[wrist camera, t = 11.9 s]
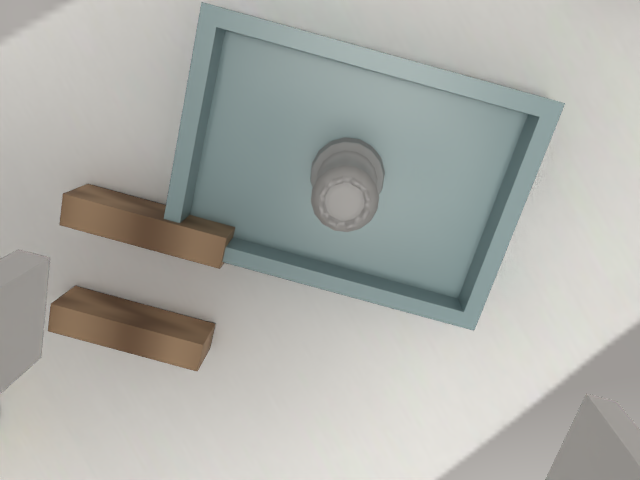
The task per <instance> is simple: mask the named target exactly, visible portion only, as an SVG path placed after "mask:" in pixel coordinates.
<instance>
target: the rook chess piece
mask: <svg viewBox="0 0 640 480" xmlns="http://www.w3.org/2000/svg"><path fill="white" fill-rule="evenodd" d="M384 175H385V171H384V167H383V163H382V159H381V157H380V156H379V154H378V153H377V152H376V150H375V149H374V148H373V147H372V146H371V145H369V144H367V143H366V142H364V141H362V140H360V139H354V138H346V137H344V138H341V139H337V140H334V141H330V142H329V143H328V144H327V145H325V146H324V147H323V148H322V149H320V150H319V151H318V153H317V155H316V157H315V159H314V161H313V162H312V168H311V177H310V181H311V184H312V196H311V204H312V207H313V211H314V214H315V215H316V216H317V218H318V219H319V220H320V221H321V223H322V224H323V225H325V226H327V227H329V228H331V229H332V230H334V231H342V232H350V231H354V230H358V229H360V228H362V227H363V226H365V225H366V224H367V223H369V222H370V221H371V220H372V218H373V216H374V215H375V213H376V211H377V209H378V202H379V194H380V192H381V191H382V188H383V182H384Z"/></svg>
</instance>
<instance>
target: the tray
mask: <svg viewBox="0 0 640 480" xmlns="http://www.w3.org/2000/svg"><path fill="white" fill-rule="evenodd" d="M564 105H565V103H562V102H558V101H555V100H551V99H548V98H544V97H540V96H537V95H533V94H530V93H526V92H523V91H519V90H515V89H512V88H508V87H505V86H501V85H497V84H494V83H490V82H487V81H483V80H479V79H476V78H472V77H469V76H465V75H462V74H458V73H454V72H451V71H447V70H444V69H440V68H436V67H433V66H429V65H426V64H422V63H418V62H415V61H411V60H408V59H404V58H401V57H397V56H393V55H390V54H386V53H383V52H379V51H375V50H372V49H368V48H365V47H361V46H357V45H354V44H350V43H347V42H343V41H340V40H336V39H332V38H329V37H325V36H322V35H318V34H314V33H311V32H307V31H304V30H300V29H296V28H293V27H289V26H286V25H282V24H278V23H275V22H271V21H268V20H264V19H261V18H257V17H253V16H250V15H246V14H243V13H239V12H235V11H232V10H228V9H225V8H221V7H217V6H214V5H210V4H207V3H203V2H202V3H201V9H200V14H199V20H198V26H197V31H196V37H195V43H194V48H193V54H192V60H191V66H190V71H189V77H188V83H187V88H186V94H185V100H184V106H183V111H182V117H181V123H180V128H179V134H178V140H177V145H176V151H175V157H174V163H173V168H172V174H171V180H170V185H169V191H168V197H167V202H166V208H165V214H164V219H166V220H170V221H173V222H177V223H181V222H182V221H183V220H184V219H186V218H187V217H188V216H189V215H192V216H196V217H200V218H203V219H207V220H211V221H214V222H218V223H222V224H225V225H229V226H233V227H235V232H234V236H233V238H232V240H231V241H230V242H229V244H228V245H227V246H226V248H225V253H224V257H223V262H224V263H228V264H232V265H235V266H239V267H243V268H246V269H250V270H254V271H257V272H261V273H265V274H268V275H272V276H276V277H279V278H283V279H287V280H290V281H294V282H298V283H301V284H305V285H309V286H312V287H316V288H320V289H323V290H327V291H331V292H334V293H338V294H342V295H345V296H349V297H353V298H356V299H360V300H364V301H367V302H371V303H375V304H378V305H382V306H386V307H389V308H393V309H397V310H400V311H404V312H408V313H411V314H415V315H419V316H422V317H426V318H430V319H433V320H437V321H441V322H444V323H448V324H452V325H455V326H459V327H463V328H466V329H470V330H475V327H476V325H477V322H478V320H479V317H480V315H481V312H482V310H483V307H484V305H485V302H486V300H487V297H488V295H489V292H490V290H491V287H492V285H493V282H494V280H495V277H496V275H497V272H498V270H499V267H500V265H501V262H502V260H503V257H504V255H505V252H506V250H507V247H508V245H509V242H510V240H511V237H512V235H513V232H514V230H515V227H516V225H517V222H518V220H519V217H520V215H521V212H522V210H523V207H524V205H525V202H526V200H527V197H528V195H529V192H530V190H531V187H532V185H533V182H534V180H535V177H536V175H537V172H538V170H539V167H540V165H541V162H542V160H543V157H544V155H545V152H546V150H547V147H548V145H549V142H550V140H551V137H552V135H553V132H554V130H555V127H556V125H557V122H558V120H559V117H560V115H561V112H562V110H563V107H564ZM344 137H346V138H354V139H360V140H362V141H364V142H366V143H367V144H369V145H371V146H372V147H373V148H374V149H375V150H376V152H377V153H378V154H379V156H380V157H381V159H382V163H383V167H384V171H385V175H384V182H383V188H382V191H381V192H380V194H379V202H378V209H377V211H376V213H375V215H374V216H373V218H372V220H371V221H370V222H369V223H367V224H366V225H365V226H363V227H362V228H360V229H358V230H354V231H350V232H342V231H334V230H332V229H331V228H329V227H327V226H325V225H323V224H322V223H321V221H320V220H319V219H318V218H317V216H316V215H315V214H314V211H313V207H312V204H311V196H312V184H311V181H310V177H311V168H312V162H313V161H314V159H315V157H316V155H317V153H318V151H319V150H320V149H322V148H323V147H324V146H325V145H327V144H328V143H329V142H330V141H334V140H337V139H341V138H344Z"/></svg>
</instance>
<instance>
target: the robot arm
mask: <svg viewBox="0 0 640 480" xmlns="http://www.w3.org/2000/svg"><path fill="white" fill-rule="evenodd" d="M49 265H50V257H46V256H42V255H38V254H34V253H30V252H26V251H22V250H16V251H15V252H13V253H11V254H9V255H7V256H5V257H3V258H1V259H0V394H1V393H2V392H3V391H4V390H5V389H7V388H8V387H9V386H10V385H11V384H12V383H13V382H14V381H16V380H17V379H18V378H19V377H20V376H21V375H22V374H23V373H24V372H26V371H27V370H28V369H29V368H30V367H31V366H32V365H33V364H34V363H36V362H37V361H38V360H39V359H40V358H41V353H42V342H43V331H44V320H45V309H46V298H47V287H48V276H49ZM545 480H640V429H639V428H638V427H637V425H636V424H635V423H634V422H633V420H632V419H631V418H630V417H629V415H628V414H627V413H626V412H625V410H624V409H623V408H622V407H621V406H620V404H619V403H618V402H617V401H614V400H610V399H606V398H602V397H598V396H594V395H589V394H586V395H585V397H584V400H583V402H582V404H581V406H580V408H579V410H578V412H577V414H576V416H575V418H574V420H573V422H572V425H571V427H570V429H569V431H568V433H567V435H566V437H565V439H564V441H563V443H562V446H561V448H560V450H559V452H558V454H557V456H556V458H555V460H554V462H553V464H552V466H551V469H550V471H549V473H548V475H547V477H546V479H545Z"/></svg>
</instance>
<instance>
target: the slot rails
mask: <svg viewBox="0 0 640 480" xmlns="http://www.w3.org/2000/svg"><path fill="white" fill-rule="evenodd" d="M165 208H166V205H164V204H160V203H156V202H153V201H149V200H145V199H142V198H138V197H134V196H131V195H127V194H123V193H120V192H116V191H112V190H109V189H105V188H101V187H98V186H94V185H91V184H86V185H84V186H81V187H79V188H76V189H74V190H71V191H69V192H66V193H64V194H63V198H62V207H61V216H60V225H61V226H65V227H68V228H72V229H76V230H80V231H83V232H87V233H91V234H94V235H98V236H102V237H105V238H109V239H113V240H116V241H120V242H124V243H127V244H131V245H135V246H138V247H142V248H146V249H149V250H153V251H157V252H160V253H164V254H168V255H171V256H175V257H179V258H182V259H186V260H190V261H193V262H197V263H201V264H204V265H208V266H212V267H215V268H219V269H220V268H221V266H222V265H223V264H224V262H223V257H224V253H225V248H226V246H227V245H228V244H229V242H230V241H231V240H232V238H233V236H234V232H235V227H233V226H229V225H225V224H222V223H218V222H214V221H211V220H207V219H203V218H200V217H196V216H192V215H189V216H188V217H187V218H186V219H184V220H183V221H182V222H181V223H177V222H173V221H170V220H166V219H164V214H165ZM214 328H215V324H214V323H211V322H207V321H203V320H200V319H196V318H192V317H189V316H185V315H181V314H177V313H174V312H170V311H166V310H163V309H159V308H155V307H152V306H148V305H144V304H141V303H137V302H133V301H130V300H126V299H122V298H118V297H115V296H111V295H107V294H104V293H100V292H96V291H93V290H89V289H85V288H82V287H78V286H74V287H73V288H72V289H70V290H69V291H68V292H66V293H65V294H64V295H62V296H61V297H59V298H58V299H57V300H55V301H54V302H53V303H51V307H50V316H49V325H48V331H49V332H53V333H57V334H61V335H64V336H68V337H72V338H75V339H79V340H83V341H87V342H90V343H94V344H98V345H101V346H105V347H109V348H112V349H116V350H120V351H124V352H127V353H131V354H135V355H138V356H142V357H146V358H150V359H153V360H157V361H161V362H164V363H168V364H172V365H175V366H179V367H183V368H187V369H190V370H194V371H198V370H199V368H200V366H201V364H202V362H203V360H204V359H205V357H206V355H207V353H208V351H209V349H210V346H211V342H212V337H213V333H214Z"/></svg>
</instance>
